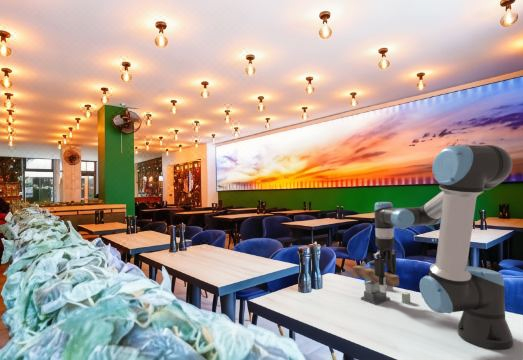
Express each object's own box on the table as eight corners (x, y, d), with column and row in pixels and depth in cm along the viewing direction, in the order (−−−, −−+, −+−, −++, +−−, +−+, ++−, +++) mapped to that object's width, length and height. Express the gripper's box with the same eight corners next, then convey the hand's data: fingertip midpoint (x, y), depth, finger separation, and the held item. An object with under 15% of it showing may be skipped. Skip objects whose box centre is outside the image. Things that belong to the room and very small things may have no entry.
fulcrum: (390, 299, 143) (389, 282, 144) (375, 304, 138) (374, 286, 138) (375, 294, 150) (374, 277, 150) (360, 299, 145) (360, 281, 145)
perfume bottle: (364, 284, 165) (363, 261, 165) (374, 283, 167) (373, 260, 167) (372, 288, 159) (371, 264, 159) (382, 286, 161) (381, 263, 161)
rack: (410, 302, 140) (410, 293, 140) (406, 303, 138) (405, 294, 138) (369, 288, 159) (369, 280, 159) (365, 290, 157) (365, 282, 157)
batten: (399, 285, 136) (398, 275, 136) (393, 287, 134) (392, 277, 134) (358, 273, 155) (358, 265, 155) (352, 275, 153) (352, 266, 153)
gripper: (389, 234, 147) (391, 285, 147) (364, 238, 138) (366, 292, 138) (404, 236, 141) (406, 289, 140) (379, 240, 132) (381, 297, 131)
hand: (386, 290), depth 139 cm, fingers closed on batten, 4 cm apart
